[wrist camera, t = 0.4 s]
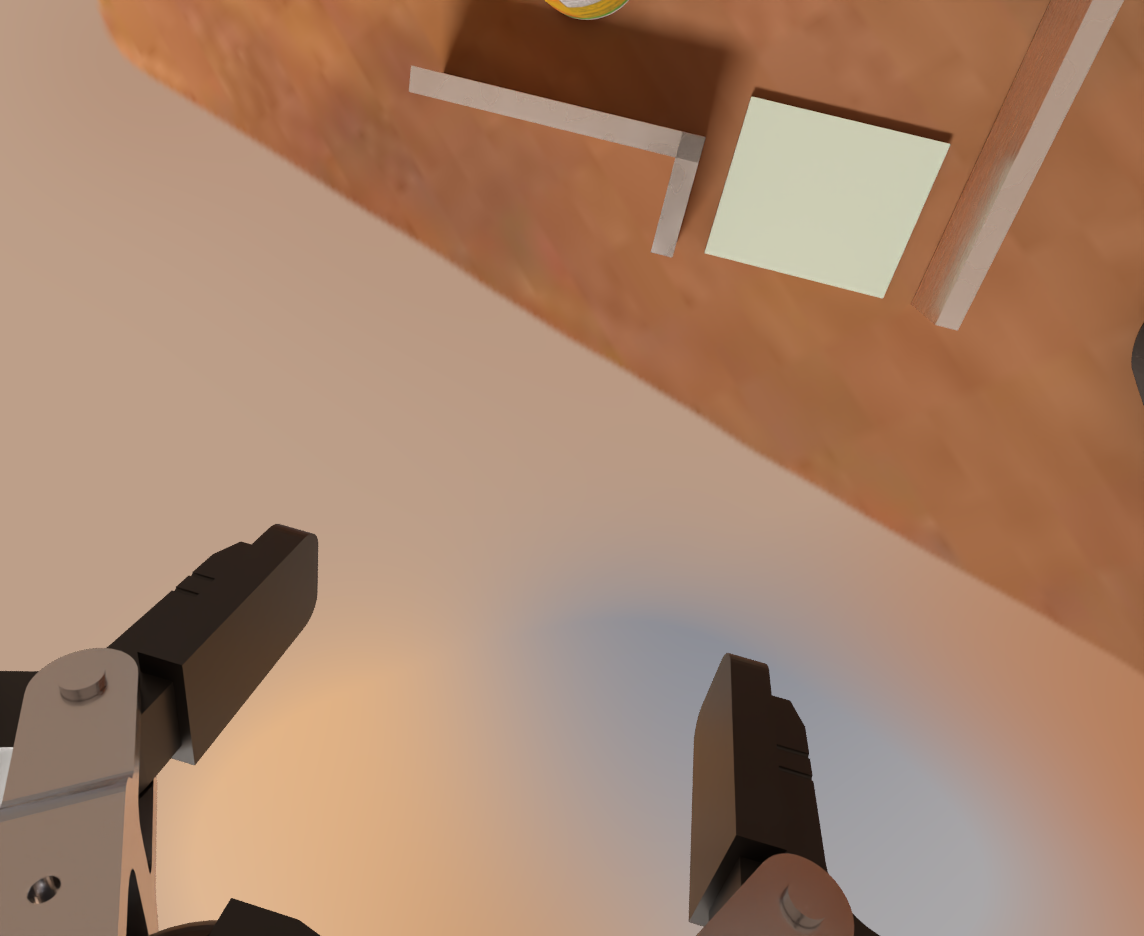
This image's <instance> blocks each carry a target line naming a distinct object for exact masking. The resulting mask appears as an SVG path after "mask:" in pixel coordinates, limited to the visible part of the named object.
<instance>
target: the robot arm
mask: <svg viewBox="0 0 1144 936" xmlns="http://www.w3.org/2000/svg"><path fill="white" fill-rule="evenodd" d="M317 583H318V539H317V536H316V535H315V534H312V533H309V532H305V531H301V530H298V529H294V528H291V527H288V526H284V525H280V524H275V525H273V526H271V527H270V528H269V529H268V530H267V531H266V532H265V533H263V535H261V536H260V537H259V538H258V539H257V540H256V541H255V542H254V543H253V544H252V545H251V544H247V543H244V542H239V543H237V544H234V545H232V546H230V547H228V548H226V549H224V550H222V551H219V552H217V553H215V554H213V555H212V556H210V557H209V558H208V559H207V560H206V561H205V562H204V563H202V564H201V565H200V566H199V567H198V568H197V569H196V570H195V571H193V574H192V576H188V577H187V578H186V579H184V580H183V581H182V582H181V583H180V584H179V585H178V586H176V589H175V591H171V592H170V593H169V594H167V595H166V596H165V597H164V598H163V599H162V600H161V601H159V602H158V603H157V604H156V605H155V606H154V607H153V608H152V609H150V610H149V611H148V612H147V613H146V614H145V615H144V616H142V617H141V618H140V619H139V620H138V621H137V622H136V623H135V624H133V625H132V626H131V627H130V628H129V629H128V630H127V631H125V632H124V633H123V634H122V635H121V636H120V637H119V638H118V639H116V640H115V641H114V642H113V643H112V644H111V645H109V646H108V647H107V648H93V649H86V650H81V651H77V652H74V653H71V654H68V655H65V656H63V657H60V658H58V659H57V660H55V661H53V662H51V663H49V664H48V665H47V666H45V667H44V668H42V669H41V670H40V671H37V672H36V671H35V672H28V671H25V672H23V671H0V936H320V935H319V934H317V933H316V932H315V931H313V930H312V929H310V928H309V927H308V926H307V925H305V924H304V923H302V922H301V921H300V920H297V919H295V918H292V917H288V916H285V915H282V914H279V913H276V912H273V911H270V910H267V909H264V908H261V907H257V906H254V905H251V904H248V903H245V902H242V901H239V900H236V899H233V898H231V899H230V901H229V903H228V904H227V906H226V908H225V909H224V911H223V912H222V914H221V916H220V918H219V919H218V920H209V921H201V922H193V923H187V924H183V925H179V926H174V927H170V928H167V929H164V930H162V931H159V932H158V915H157V904H156V825H157V821H156V819H157V779H156V775H157V774H158V773H159V772H160V771H161V769H162V768H163V767H164V766H165V765H166V764H167V762H168V761H169V760H170V759H171V758H172V759H175V760H179V761H182V762H185V763H189V764H192V765H195V764H196V763H197V762H198V761H199V759H200V758H201V757H202V756H203V754H204V753H205V752H206V751H207V749H208V748H209V747H210V746H211V744H212V743H213V742H214V741H215V739H216V738H217V737H218V735H219V734H220V733H221V732H222V730H223V729H224V728H225V727H226V725H227V724H228V723H229V722H230V720H231V719H232V718H233V717H234V715H235V714H236V713H237V712H238V710H239V709H240V708H241V706H242V705H243V704H244V703H245V701H246V700H247V699H248V698H249V696H250V695H251V694H252V693H253V691H254V690H255V689H256V687H257V686H258V685H259V684H260V683H261V681H262V680H263V679H264V678H265V676H266V675H267V674H268V673H269V671H270V670H271V669H272V668H273V666H274V665H275V664H276V662H277V661H278V660H279V659H280V657H281V656H282V655H283V654H284V652H285V651H286V650H287V649H288V647H289V646H290V645H291V644H292V642H293V641H294V640H295V638H296V637H297V636H298V635H299V633H300V632H301V631H302V630H303V628H304V627H305V626H306V624H307V623H308V621H309V619H310V617H311V615H312V613H313V610H314V608H315V604H316V600H317ZM808 755H809V750H808V743H807V737H806V730H805V726H804V724H803V723H802V721H801V719H800V717H799V716H798V714H797V712H796V710H795V708H794V707H793V705H792V703H791V702H790V701H789V700H786V699H782V698H779V697H775V696H772V695H771V685H770V675H769V668H768V666H767V664H765V663H761V662H758V661H754V660H751V659H747V658H744V657H740V656H737V655H733V654H730V653H726V654H725V655H724V657H723V659H722V661H721V663H720V665H719V667H718V670H717V672H716V674H715V677H714V679H713V681H712V684H711V686H710V688H709V691H708V693H707V696H706V698H705V700H704V702H703V704H702V707H701V710H700V712H699V716H698V720H697V724H696V729H695V736H694V758H693V759H694V760H693V793H692V826H691V862H690V863H691V864H690V895H689V922H691V923H694V924H697V925H700V926H704V928H703V929H702V930H701V931H700V932H699V933H698V934H697V935H696V936H879V935H878V934H876V933H875V932H873V931H872V930H871V929H869V928H868V927H866V926H865V925H864V924H863V923H862V922H861V921H860V920H859V919H857V918H856V916H855V915H854V914H853V913H852V911H851V907H850V905H849V903H848V900H847V898H846V897H845V895H844V893H843V891H842V890H841V888H840V887H839V886H838V884H837V883H836V882H835V880H834V879H833V878H832V877H831V876H830V875H829V874H828V872H827V867H826V862H825V856H824V850H823V843H822V836H821V829H820V823H819V816H818V809H817V803H816V797H815V790H814V783H813V781H812V770H811V763H810V759H809V758H808Z"/></svg>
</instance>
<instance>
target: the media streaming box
mask: <svg viewBox="0 0 1144 936" xmlns="http://www.w3.org/2000/svg"><path fill="white" fill-rule="evenodd" d="M1132 370H1133V373H1134V377H1135V380H1136V383H1137V386H1138V390H1139V393H1140V396H1141V399H1142V402H1143V405H1144V324H1143V326H1142V327H1141V329H1140V331H1139V333H1138V336H1137V338H1136V341H1135V344H1134V347H1133V352H1132Z"/></svg>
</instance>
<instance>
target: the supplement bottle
mask: <svg viewBox="0 0 1144 936" xmlns="http://www.w3.org/2000/svg"><path fill="white" fill-rule="evenodd" d="M545 1H546V2H547V3H548V4H549V5H551V6H552V7H553V8H555V9H556V10H558V11H559V12H561V13H563V14H565V15H567V16H569V17H572V18H575V19H581V20H593V19H599V18H602V17H605V16H608V15H610V14H612V13H614V12H616V11H617V10H619V9H620V8H621V7H623V6H624V5H625V4H626V3H627V2H628V1H629V0H545Z"/></svg>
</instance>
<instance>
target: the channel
mask: <svg viewBox="0 0 1144 936" xmlns="http://www.w3.org/2000/svg"><path fill="white" fill-rule="evenodd" d="M1123 1H1124V0H1051V1H1050V3H1049V5H1048V8H1047V10H1046V12H1045V14H1044V16H1043V18H1042V21H1041V23H1040V25H1039V27H1038V29H1037V32H1036V34H1035V36H1034V38H1033V40H1032V42H1031V45H1030V47H1029V49H1028V51H1027V53H1026V55H1025V58H1024V60H1023V62H1022V64H1021V66H1020V68H1019V71H1018V73H1017V75H1016V77H1015V79H1014V82H1013V84H1012V86H1011V88H1010V90H1009V92H1008V95H1007V97H1006V99H1005V101H1004V103H1003V105H1002V108H1001V110H1000V112H999V114H998V116H997V118H996V121H995V123H994V125H993V127H992V129H991V132H990V134H989V136H988V138H987V140H986V142H985V145H984V147H983V149H982V151H981V153H980V155H979V158H978V160H977V162H976V164H975V166H974V169H973V171H972V173H971V175H970V177H969V179H968V182H967V184H966V186H965V188H964V190H963V192H962V195H961V197H960V199H959V201H958V203H957V205H956V208H955V210H954V212H953V214H952V216H951V219H950V221H949V223H948V225H947V227H946V229H945V232H944V234H943V236H942V238H941V240H940V242H939V245H938V247H937V249H936V251H935V253H934V255H933V258H932V260H931V262H930V264H929V266H928V269H927V271H926V273H925V275H924V277H923V279H922V282H921V284H920V286H919V288H918V290H917V292H916V295H915V297H914V299H913V301H912V303H911V305H912V306H914V307H915V308H916V309H917V310H918V311H919V312H921V313H922V314H923V315H924V316H925V317H927V318H928V319H929V320H930V321H931V322H932V323H934V324H935V325H938V326H942V327H946V328H950V329H954V330H957V331H958V329H959V327H960V325H961V323H962V321H963V319H964V317H965V315H966V313H967V311H968V309H969V307H970V305H971V303H972V301H973V299H974V297H975V295H976V293H977V291H978V289H979V287H980V285H981V283H982V281H983V279H984V277H985V275H986V273H987V271H988V269H989V267H990V265H991V263H992V261H993V259H994V257H995V255H996V253H997V251H998V249H999V247H1000V246H1001V244H1002V242H1003V240H1004V238H1005V236H1006V234H1007V232H1008V230H1009V228H1010V226H1011V224H1012V222H1013V220H1014V218H1015V216H1016V214H1017V212H1018V210H1019V208H1020V206H1021V204H1022V202H1023V200H1024V198H1025V196H1026V194H1027V192H1028V190H1029V188H1030V186H1031V184H1032V182H1033V180H1034V178H1035V176H1036V174H1037V172H1038V170H1039V168H1040V166H1041V164H1042V162H1043V160H1044V158H1045V156H1046V154H1047V152H1048V150H1049V148H1050V146H1051V144H1052V142H1053V140H1054V138H1055V136H1056V134H1057V132H1058V130H1059V128H1060V126H1061V124H1062V122H1063V120H1064V118H1065V116H1066V114H1067V112H1068V110H1069V108H1070V106H1071V104H1072V102H1073V100H1074V98H1075V96H1076V94H1077V92H1078V91H1079V89H1080V87H1081V85H1082V83H1083V81H1084V79H1085V77H1086V75H1087V73H1088V71H1089V69H1090V67H1091V65H1092V63H1093V61H1094V59H1095V57H1096V55H1097V53H1098V51H1099V49H1100V47H1101V45H1102V43H1103V41H1104V39H1105V37H1106V35H1107V33H1108V31H1109V29H1110V27H1111V25H1112V23H1113V21H1114V19H1115V17H1116V15H1117V13H1118V11H1119V9H1120V7H1121V5H1122V3H1123ZM409 92H412V93H416V94H420V95H424V96H428V97H433V98H437V99H441V100H445V101H449V102H453V103H457V104H461V105H465V106H469V107H473V108H477V109H481V110H485V111H489V112H493V113H497V114H501V115H506V116H510V117H514V118H518V119H522V120H526V121H530V122H534V123H538V124H542V125H546V126H550V127H554V128H558V129H562V130H566V131H570V132H574V133H579V134H583V135H587V136H591V137H595V138H599V139H603V140H607V141H611V142H615V143H619V144H623V145H627V146H631V147H635V148H639V149H643V150H647V151H652V152H656V153H660V154H664V155H668V156H672V157H676V158H675V162H674V166H673V169H672V173H671V177H670V181H669V185H668V189H667V192H666V196H665V200H664V204H663V208H662V211H661V215H660V219H659V223H658V227H657V231H656V234H655V238H654V242H653V246H652V250H651V252H653V253H656V254H660V255H664V256H668V257H673V253H674V249H675V246H676V242H677V239H678V235H679V231H680V228H681V224H682V221H683V217H684V213H685V210H686V206H687V203H688V199H689V195H690V192H691V188H692V185H693V181H694V177H695V174H696V170H697V167H698V163H699V159H700V156H701V152H702V149H703V145H704V141H705V138H706V137H704V136H700V135H696V134H692V133H688V132H684V131H680V130H676V129H672V128H668V127H663V126H659V125H655V124H651V123H647V122H643V121H639V120H635V119H631V118H627V117H622V116H618V115H614V114H610V113H606V112H602V111H598V110H594V109H590V108H586V107H582V106H577V105H573V104H569V103H565V102H561V101H557V100H553V99H549V98H545V97H541V96H536V95H532V94H528V93H524V92H520V91H516V90H512V89H508V88H504V87H500V86H495V85H491V84H487V83H483V82H479V81H475V80H471V79H467V78H463V77H459V76H455V75H450V74H446V73H442V72H438V71H433V70H429V69H424V68H420V67H415V66H411V73H410V85H409Z"/></svg>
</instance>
